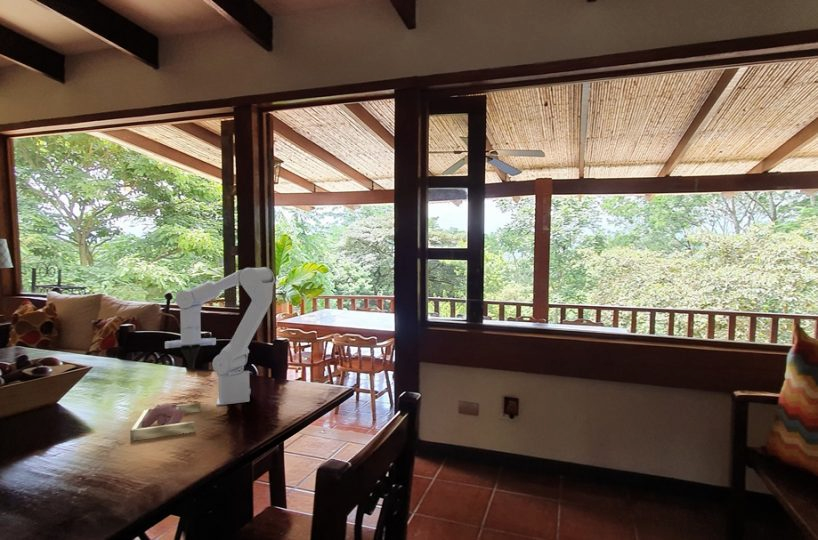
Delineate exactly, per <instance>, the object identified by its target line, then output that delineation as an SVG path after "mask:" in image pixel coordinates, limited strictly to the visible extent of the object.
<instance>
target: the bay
mask: <svg viewBox="0 0 818 540" xmlns="http://www.w3.org/2000/svg"><path fill="white" fill-rule="evenodd" d="M176 405H177V406H179V407H180V408H182V409H183V410H184V412H185V414H192V413H200V412H201V411H202V406H201V405H202V403H201V401H199V402H190V403H181V404H176ZM155 407H156V406H155ZM155 407H146V408H145V409H144V410H143V412H142V413H141V415H140V416H139V417H138V419H137V420H136V422H135V423H134V424H133V426H132V428H131V429H130V431H129V433H130V435H129V439H130V442H132V441H139V440H140V441H141V440H146V439H147V440H148V439H156V438H162V437H169V436H175V435H177V436H178V435H182V434H183V433H184V434H189V433H190V432H191V433H195V421H193V420H191V421H186V422H180V423H177V424H169V425H166V424H165V425H155V426H149V427H147V428H143V426H142V425H143V422H144V420H145V419H146V417H147V416H148V415H149V414H150V413H151V412H152V410H153V409H154V408H155ZM167 417H170V416H169V415H167ZM191 433H190V434H191Z"/></svg>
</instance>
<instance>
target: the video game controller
mask: <svg viewBox="0 0 818 540" xmlns="http://www.w3.org/2000/svg"><path fill="white" fill-rule="evenodd" d="M177 405H178V404H174V403H163V404H162V403H161V404H157V406H155V408H154V407H153V408H154V409H153V410H152V412H151V413H150V414H149V415H148V416H147V417H146V419H145V420H144V422H143V425H142V426H143V428H147V427H152V425H153V424H154V423H155V422H156V421H157V423H156V424H157V426H162V425H169V424H177V423H181V421H182V420H183V418H184V417H185V414H186V413H185V412H184V410H183V409H182V408H180V407H179V406H177ZM167 415H169V416H167Z"/></svg>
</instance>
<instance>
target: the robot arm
mask: <svg viewBox="0 0 818 540" xmlns="http://www.w3.org/2000/svg"><path fill="white" fill-rule="evenodd" d="M275 283H276V278H275V275H274V273H273V271H272V269H270V268H269V267H267V266H262V267H245V268H243V269H240V270H237V271H235V272H233V273H231V274H229V275H227V276H226V277H223V278H221V279H219V280H217V281H214V280H208V279H205V280H203V281H202V283H201V284H198V285H194V286H191V287H190V289H187V290H186V289H182V290H180V291H179V292H178V293H177V294H176V296H175V303H176V305H177V306H178V307H179V310H180V311H179V313H180V314H179V316H180V339H175V340H170V341H169V340H167V341H164V348H165V349H174V348H181V349H180V351H181V353H182V355H183V356H184V358H185V360H186V364H187V367H188V368H187V369H188V370H193V369H195V363H196V360H197V357H198V353H199V351H200V349H201V346H215V345H217V338H216V337H211V338H209V337H207V338H205V337H204V338H202V334H201V333H202V331H201V328H202V326H201V323H202V322H201V312H202V306H203V304H204V303H207V302H208V301H211V300H213V299H216V298H218V297H219V296H220V294H221V292H222V291H225V290H227V289H231V288H232V287H236V286H242V288H243V289H244V291H245V292H246V294H247V295H248V296H249V297H250V299H251V301H250V304H249V306H248V307H247V309H246V311H245V313H244V315H243V317H242V319H241V321H240V323H239V325H238V326H237V328H236V331H234V335H232V337H231V339H230V341H229V343H228V344H227V345H226V346H224V347H223V348H222V349H221V351H220V353H219V354H217V355H216V356H215V357H214V358H213V359H212V369H213V371H214V372H215V373H216V376H218V377H217V379H218V380H217V382H218V384H217V385H218V386H217V387H218V390H217V391H218V394H217V395H218V396H217V400H216V406H224V405H231V404H240V403H241V404H242V403H246V402H247V403H248V402H250V400H251V399H250V395H251V390H252V389H251V387H250V371H249V370H244V369H245V366H246V364H247V363H248V357H249V353H250V349H249V345H250V343H251V341H252V339H253V338H254V336H255V334H256V332H257V330H258V328H259V326H260V325H261V323H262V321H263V319H264V317H265V315H266V313H267V312H268V310H269V308H270V306H271V304H272V301H273V294H274V293H273V290H274V284H275Z"/></svg>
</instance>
